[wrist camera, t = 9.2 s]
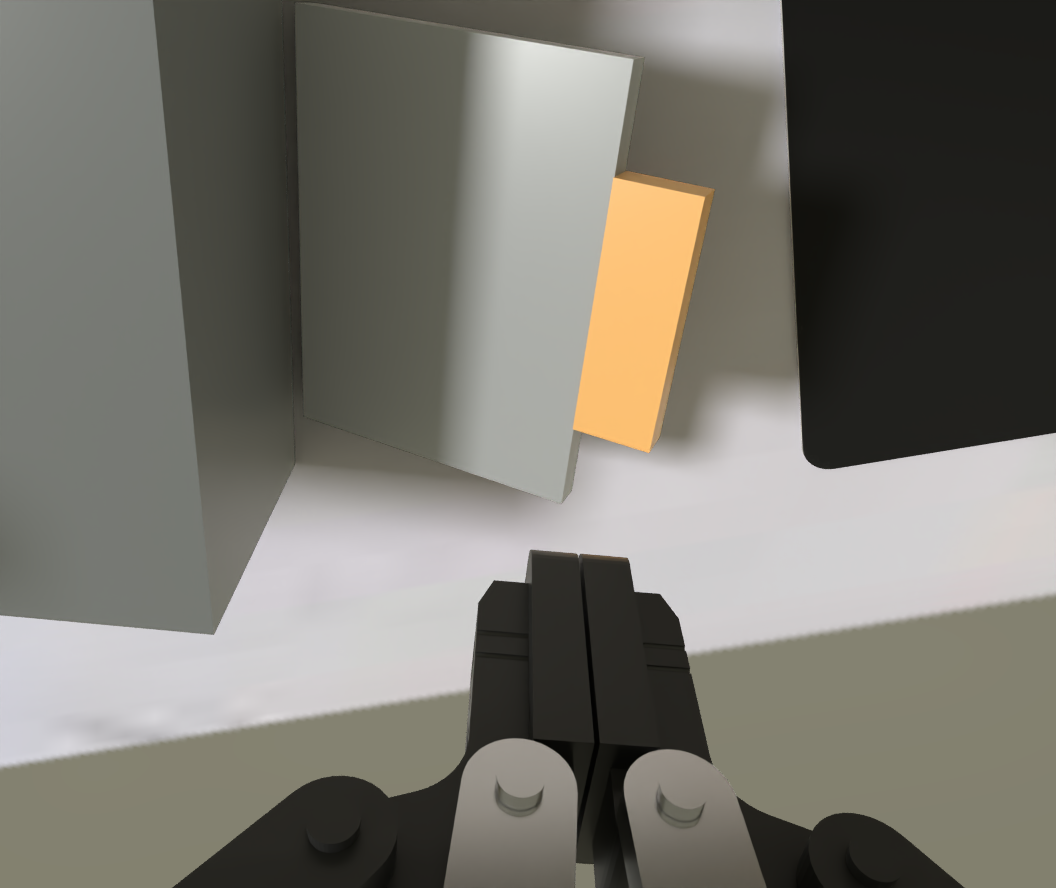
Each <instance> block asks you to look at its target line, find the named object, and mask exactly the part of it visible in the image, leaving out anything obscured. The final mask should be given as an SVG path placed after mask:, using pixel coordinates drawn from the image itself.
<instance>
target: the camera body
mask: <svg viewBox="0 0 1056 888" xmlns="http://www.w3.org/2000/svg"><path fill="white" fill-rule="evenodd" d="M294 465H295V448H294V413H293V377H292V342H291V307H290V271H289V236H288V200H287V165H286V129H285V94H284V59H283V23H282V0H0V615H4V616H15V617H26V618H37V619H48V620H58V621H69V622H80V623H91V624H102V625H113V626H124V627H135V628H146V629H157V630H168V631H179V632H190V633H200V634H211V635H214V633H215V631H216V629H217V627H218V625H219V623H220V621H221V619H222V617H223V614H224V612H225V610H226V608H227V606H228V604H229V602H230V600H231V598H232V596H233V593H234V591H235V589H236V587H237V585H238V583H239V581H240V579H241V577H242V575H243V572H244V570H245V568H246V566H247V564H248V562H249V560H250V558H251V556H252V554H253V551H254V549H255V547H256V545H257V543H258V541H259V539H260V537H261V535H262V532H263V530H264V528H265V526H266V524H267V522H268V520H269V518H270V516H271V514H272V511H273V509H274V507H275V505H276V503H277V501H278V499H279V497H280V495H281V493H282V490H283V488H284V486H285V484H286V482H287V480H288V478H289V476H290V474H291V471H292V469H293V467H294Z"/></svg>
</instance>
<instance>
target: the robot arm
mask: <svg viewBox="0 0 1056 888" xmlns="http://www.w3.org/2000/svg"><path fill="white" fill-rule="evenodd" d="M469 696H470V697H469V709H468V722H467V736H466V749H465V755H464V757H463V759H462V760H461V762H460V764H459V765H458V766H457V767H456V768H455V770H454V771H453V772H452V773H451V774H449V775H448V776H447V777H446V778H445V779H443V780H441V781H440V782H438V783H437V784H434V785H433V786H430V787H428V788H425V789H422V790H419V791H416V792H411V793H407V794H403V795H399V796H394V797H390V798H388V797H387V796H386V795H385V794H384V793H383V792H382V791H381V790H380V789H379V788H378V787H376V786H375V785H373V784H372V783H369V782H367V781H365V780H363V779H359V778H355V777H349V776H331V777H326V778H321V779H318V780H315V781H312V782H310V783H308V784H306V785H304V786H302V787H300V788H299V789H297V790H296V791H294V792H293V793H292V794H290V795H289V796H288V797H287V798H285V799H284V800H283V801H281V802H280V803H279V804H278V805H276V806H275V807H274V808H273V809H271V810H270V811H269V812H268V813H266V814H265V815H264V816H262V817H261V818H260V819H259V820H257V821H256V822H255V823H254V824H252V825H251V826H250V827H249V828H247V829H246V830H245V831H243V832H242V833H241V834H240V835H238V836H237V837H236V838H235V839H233V840H232V841H231V842H230V843H228V844H227V845H226V846H225V847H223V848H222V849H221V850H220V851H218V852H217V853H216V854H215V855H213V856H212V857H211V858H209V859H208V860H207V861H206V862H204V863H203V864H202V865H200V866H199V867H198V868H197V869H195V870H194V871H193V872H192V873H190V874H189V875H188V876H187V877H185V878H184V879H183V880H181V881H180V882H179V883H178V884H176V885H175V886H174V887H173V888H575V881H576V863H583V864H594V875H595V887H596V888H964V887H963V886H962V885H961V884H959V883H958V882H957V881H956V880H955V879H953V878H952V877H951V876H950V875H949V874H947V873H946V872H945V871H944V870H943V869H941V868H940V867H939V866H938V865H937V864H935V863H934V862H933V861H932V860H931V859H930V858H928V857H927V856H926V855H925V854H924V853H922V852H921V851H920V850H919V849H918V848H916V847H915V846H914V845H913V844H912V843H911V842H909V841H908V840H907V839H906V838H904V837H903V836H902V835H901V834H899V833H898V832H897V831H895V830H894V829H893V828H891V827H889V826H888V825H886V824H884V823H883V822H880V821H878V820H876V819H874V818H871V817H868V816H864V815H860V814H854V813H839V814H834V815H831V816H828V817H826V818H824V819H823V820H821V821H820V822H819V823H818V824H817V825H816V826H815V827H814V829H813V831H811V830H808V829H806V828H803V827H801V826H798V825H795V824H792V823H790V822H787V821H784V820H781V819H779V818H776V817H773V816H770V815H768V814H766V813H763V812H761V811H759V810H757V809H755V808H753V807H752V806H750V805H748V804H747V803H745V802H744V801H743V800H741V799H740V798H738V797H737V796H736V794H735V792H734V790H733V788H732V786H731V785H730V783H729V781H728V780H727V779H726V778H725V777H724V775H723V774H722V773H721V772H720V771H719V770H718V769H717V768H715V767H714V766H713V764H712V761H711V758H710V755H709V750H708V746H707V741H706V737H705V733H704V728H703V724H702V719H701V715H700V710H699V706H698V702H697V698H696V693H695V688H694V684H693V680H692V676H691V674H690V666H689V663H688V657H687V653H686V651H685V644H684V640H683V635H682V631H681V627H680V622H679V618H678V617H677V616H676V615H675V613H674V612H673V611H672V609H671V608H670V607H669V605H668V604H667V603H666V601H665V600H664V599H663V598H662V596H661V595H660V594H653V593H641V592H634V587H633V581H632V575H631V569H630V563H629V560H628V558H624V557H612V556H600V555H588V554H580V555H579V558H578V555H577V554H574V553H563V552H551V551H539V550H530V553H529V558H528V564H527V571H526V579H525V583H519V582H507V581H495V580H494V581H493V583H492V584H491V586H490V587H489V588H488V590H487V591H486V593H485V594H484V596H483V597H482V598H481V600H480V601H479V603H478V613H477V622H476V632H475V642H474V651H473V661H472V670H471V682H470V695H469Z"/></svg>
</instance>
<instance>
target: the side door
mask: <svg viewBox="0 0 1056 888" xmlns="http://www.w3.org/2000/svg"><path fill="white" fill-rule="evenodd" d="M295 45H296V92H297V138H298V185H299V231H300V278H301V324H302V370H303V416H304V417H307V418H309V419H312V420H315V421H318V422H321V423H324V424H327V425H330V426H333V427H336V428H339V429H342V430H345V431H348V432H351V433H354V434H357V435H359V436H362V437H365V438H368V439H371V440H374V441H377V442H380V443H383V444H386V445H389V446H392V447H395V448H398V449H401V450H404V451H406V452H409V453H412V454H415V455H418V456H421V457H424V458H427V459H430V460H433V461H436V462H439V463H442V464H445V465H448V466H451V467H453V468H456V469H459V470H462V471H465V472H468V473H471V474H474V475H477V476H480V477H483V478H486V479H489V480H492V481H495V482H498V483H500V484H503V485H506V486H509V487H512V488H515V489H518V490H521V491H524V492H527V493H530V494H533V495H536V496H539V497H542V498H545V499H547V500H550V501H553V502H556V503H559V504H562V503H563V501H564V500H565V499H566V497H567V496H568V495H569V494H570V492H571V491H572V486H573V480H574V474H575V469H576V463H577V457H578V451H579V445H580V439H581V433H582V432H583V433H586V434H589V435H593V436H596V437H599V438H602V439H606V440H609V441H612V442H615V443H618V444H622V445H625V446H628V447H631V448H635V449H638V450H641V451H644V452H647V453H650V451H651V450H652V448H653V447H654V445H655V444H656V442H657V440H658V439H659V437H660V433H661V429H662V424H663V420H664V415H665V411H666V406H667V402H668V397H669V393H670V388H671V384H672V379H673V375H674V370H675V366H676V361H677V357H678V352H679V348H680V343H681V339H682V334H683V330H684V326H685V321H686V317H687V312H688V308H689V303H690V299H691V294H692V290H693V285H694V281H695V276H696V272H697V267H698V263H699V258H700V254H701V249H702V245H703V240H704V236H705V231H706V227H707V222H708V218H709V213H710V209H711V204H712V200H713V195H714V191H715V189H712V188H707V187H702V186H698V185H693V184H688V183H683V182H678V181H674V180H669V179H664V178H659V177H654V176H650V175H645V174H640V173H635V172H630V171H626V165H627V160H628V154H629V148H630V142H631V136H632V130H633V124H634V118H635V112H636V106H637V100H638V94H639V88H640V82H641V76H642V70H643V64H644V59H645V57H640V56H634V55H628V54H622V53H616V52H610V51H604V50H598V49H592V48H586V47H580V46H574V45H567V44H561V43H555V42H549V41H543V40H537V39H531V38H525V37H519V36H513V35H507V34H501V33H495V32H489V31H483V30H477V29H471V28H465V27H459V26H453V25H447V24H441V23H435V22H429V21H423V20H417V19H411V18H405V17H398V16H392V15H386V14H380V13H374V12H368V11H362V10H356V9H350V8H344V7H338V6H332V5H326V4H320V3H295Z"/></svg>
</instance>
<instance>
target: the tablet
mask: <svg viewBox="0 0 1056 888" xmlns="http://www.w3.org/2000/svg"><path fill="white" fill-rule="evenodd" d="M780 11H781V32H782V52H783V73H784V93H785V113H786V134H787V154H788V174H789V195H790V215H791V236H792V256H793V276H794V297H795V317H796V337H797V358H798V378H799V399H800V419H801V439H802V451H803V454H804V456H805V458H806V459H807V460H808V462H810V463H811V464H812V465H814V466H816V467H818V468H822V469H836V468H842V467H848V466H854V465H860V464H866V463H873V462H879V461H885V460H891V459H897V458H903V457H910V456H916V455H922V454H928V453H934V452H940V451H946V450H953V449H959V448H965V447H971V446H977V445H983V444H989V443H996V442H1002V441H1008V440H1014V439H1020V438H1026V437H1033V436H1039V435H1045V434H1051V433H1056V0H780Z"/></svg>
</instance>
